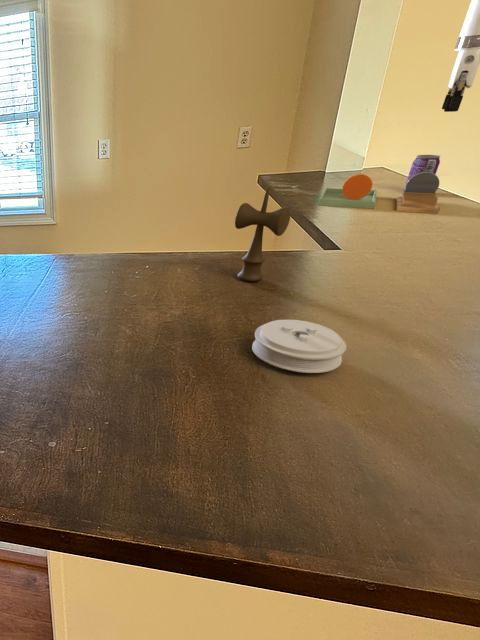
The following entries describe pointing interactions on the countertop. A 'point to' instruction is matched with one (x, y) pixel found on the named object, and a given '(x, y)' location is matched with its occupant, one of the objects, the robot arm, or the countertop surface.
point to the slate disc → (423, 183)
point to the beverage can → (423, 165)
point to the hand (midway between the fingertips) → (449, 110)
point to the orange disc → (357, 186)
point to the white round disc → (299, 346)
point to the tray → (346, 199)
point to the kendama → (259, 234)
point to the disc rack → (417, 202)
